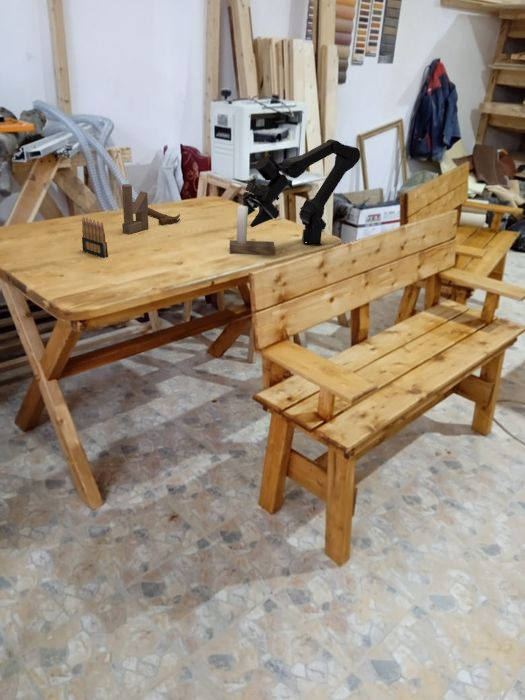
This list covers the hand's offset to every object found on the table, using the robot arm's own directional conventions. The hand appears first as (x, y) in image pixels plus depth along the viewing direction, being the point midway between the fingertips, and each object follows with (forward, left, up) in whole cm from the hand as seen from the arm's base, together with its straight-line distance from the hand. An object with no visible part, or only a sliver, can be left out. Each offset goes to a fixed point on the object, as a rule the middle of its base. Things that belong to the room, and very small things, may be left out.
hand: (244, 223), depth 199 cm
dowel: (+1, +1, -7) cm, 7 cm away
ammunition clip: (+51, +9, -10) cm, 53 cm away
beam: (-3, +1, -10) cm, 11 cm away
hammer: (+36, -44, -11) cm, 58 cm away
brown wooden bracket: (+41, -20, -10) cm, 47 cm away
